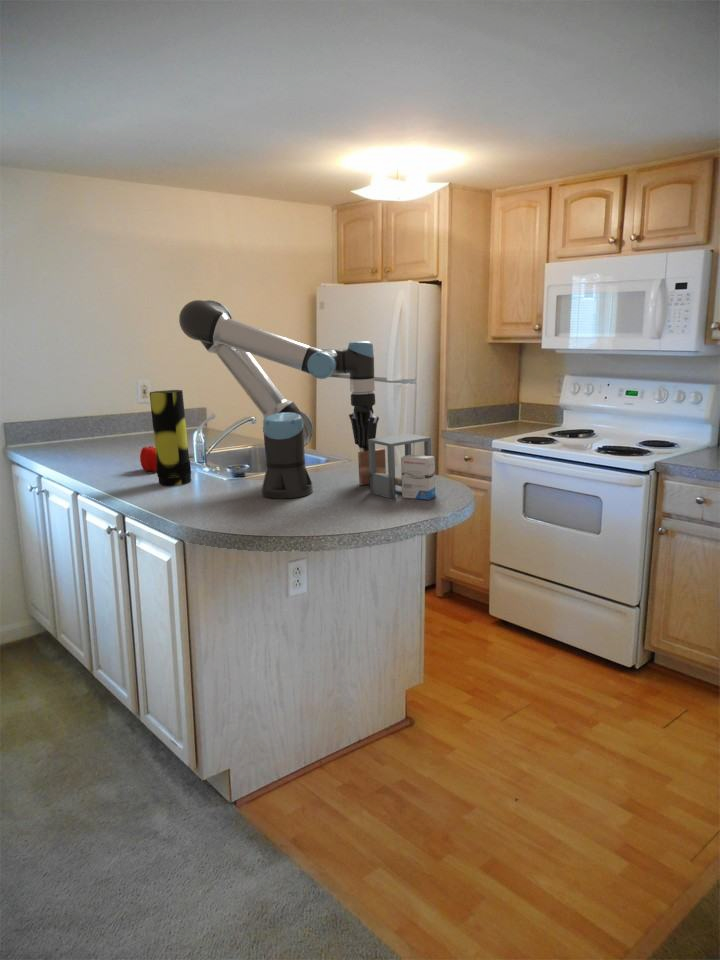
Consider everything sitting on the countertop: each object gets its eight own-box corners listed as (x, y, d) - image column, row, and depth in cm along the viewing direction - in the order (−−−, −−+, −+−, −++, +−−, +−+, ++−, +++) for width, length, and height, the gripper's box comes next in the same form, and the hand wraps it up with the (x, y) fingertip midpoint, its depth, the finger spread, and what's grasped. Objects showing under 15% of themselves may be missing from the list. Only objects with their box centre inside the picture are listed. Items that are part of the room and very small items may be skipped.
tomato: (171, 466, 261) (168, 442, 259) (173, 472, 249) (170, 447, 247) (141, 469, 257) (138, 444, 255) (142, 475, 246) (139, 450, 244)
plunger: (359, 484, 217) (358, 452, 215) (383, 479, 222) (382, 448, 220) (397, 495, 201) (396, 461, 199) (422, 490, 206) (421, 456, 204)
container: (195, 478, 237) (186, 389, 231) (188, 485, 227) (178, 392, 220) (163, 479, 237) (153, 390, 231) (154, 487, 227) (144, 394, 220)
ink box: (436, 496, 200) (435, 455, 197) (428, 500, 196) (428, 458, 193) (409, 493, 204) (408, 453, 201) (401, 497, 200) (400, 456, 197)
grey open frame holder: (370, 492, 208) (368, 439, 205) (408, 484, 216) (407, 433, 212) (392, 498, 199) (390, 443, 196) (431, 490, 207) (430, 437, 203)
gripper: (385, 392, 213) (387, 469, 218) (360, 390, 223) (363, 463, 229) (364, 395, 209) (367, 472, 214) (340, 392, 219) (344, 466, 224)
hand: (365, 467), depth 221 cm, fingers closed
